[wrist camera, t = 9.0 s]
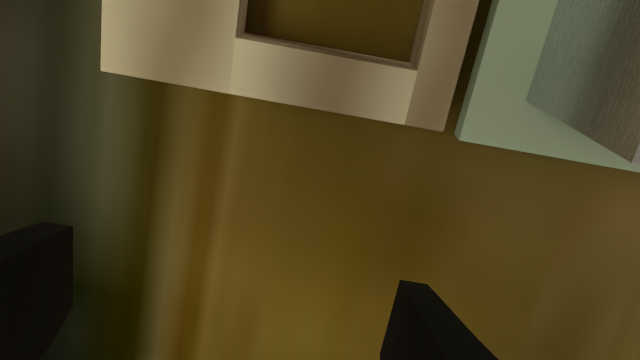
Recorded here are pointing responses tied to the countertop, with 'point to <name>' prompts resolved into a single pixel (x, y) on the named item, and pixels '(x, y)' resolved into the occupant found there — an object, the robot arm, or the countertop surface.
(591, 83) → the knob-topped grey cube
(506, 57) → the rubber pad
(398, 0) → the countertop surface
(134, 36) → the birch frame
